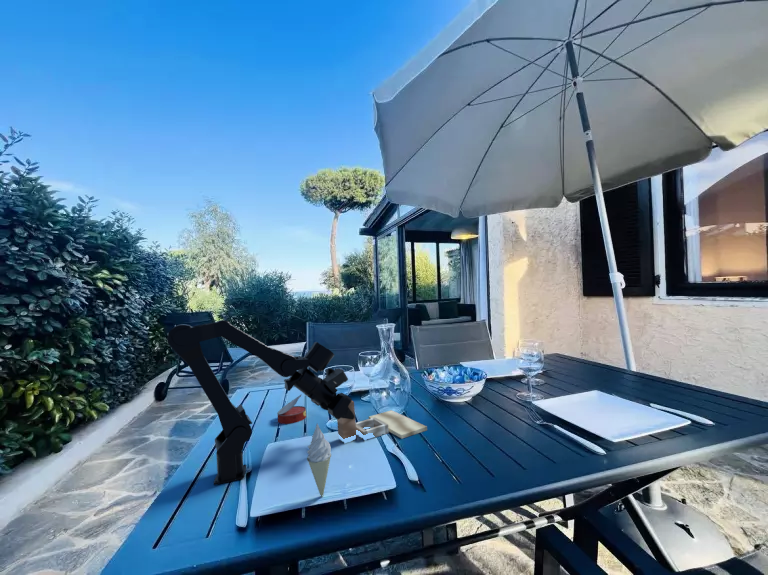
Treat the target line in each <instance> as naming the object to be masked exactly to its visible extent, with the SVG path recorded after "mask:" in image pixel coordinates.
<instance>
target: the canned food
mask: <svg viewBox="0 0 768 575" xmlns="http://www.w3.org/2000/svg"><path fill="white" fill-rule="evenodd" d="M300 398H302V394H300V395H299V396H297V397H296V398H294V399H292V400H291V401H290V402H287V403H286V404H285V405H283V407H282V408H281V409H279V411H278V412H277V413H276V414H277V422H278V423H279V424H281V425H290V424H296V423H299V422H301V421H304V420H305V419H306V418H307V410H306V407H305V406H303V405H302V406H301V405H296V404H297V403H298V401H299V399H300Z"/></svg>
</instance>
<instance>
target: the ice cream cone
mask: <svg viewBox="0 0 768 575" xmlns="http://www.w3.org/2000/svg"><path fill="white" fill-rule="evenodd" d="M307 449H308V450H307V452H306V453H307V455H308V456H307V457H306V460H307V462H308V465H309V467H310V470H311V471H310V472H311V473H312V476H313V480H314V482H315V485H316V487H317V490H318V493H319V496H320V495H321V496H322V495H323V496H324V493H325V489H326V483H327V478H328V472H329V468H330V462H331V457H332V452H331V451H332V450H331V449H332V448H331V444H330V442H329V441H328V440H327V439H325V434H324V433H323V432H322V430H321V428H320V425H319V424H318V423H316V426H315V429H314V432H313V434H312V436H311V442H310V444H309V445H308V446H307ZM321 496H320V497H321Z"/></svg>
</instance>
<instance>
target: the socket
mask: <svg viewBox="0 0 768 575" xmlns="http://www.w3.org/2000/svg"><path fill="white" fill-rule="evenodd" d="M364 427H371V428H370V429H366V430H365V429H363V428H364ZM356 430H358V431H360V432H361V433H362V434H363V435H366V434H368V433H373V435H374V436H375V438H379V437H380V436H383V435H382V434H384V435H387V434H389V433H391V434H393V435H394V436H396V437H398V438H400V439H402V440H403V439H404V438H408V437H412V436H414V435H417V434H420V433H423V432H426V431H428V426H427V425H424V424H422V423H420V422H418V421H417V420H413V419H411V418H410V417H408V416H405V415H404V414H400V413H398V412H397V411H394V410H392V409H391V410H387V411H383V412H380V413H377V414H373V415H370V416H368V419H365V420H361V421H357V422H356Z"/></svg>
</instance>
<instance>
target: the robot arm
mask: <svg viewBox="0 0 768 575" xmlns="http://www.w3.org/2000/svg"><path fill="white" fill-rule="evenodd" d="M216 338H223V339H225V340H227V341H229V342H230V343H232V344H234V345H235V346H237V347H239V348H240V349H242V350H245V351H246V352H248V353H249V354H251V355H253V356H255V357H256V358H258V359H259V360H261V361H262V362H263V363H264V364H265V365H267V367H269V368H270V369H271V370H272V371H273V372H274V373H275V374H277V375H279V376H281V377H283V378H286V379H283V382H284V389H286V390H287V391H288V392H289V391H291V390H292V388H293V387H295V389H298V390H299V391H300V392H301V393H302V394H304V395H305V396H306V397H307V398H309V399H310V401H311V402H312V403H314V405H316V406H320V408H321V409H322V410H324V411H327V412H328V414H330V416H332V417H333V418H335V419H336V420H337V419H340V418H346V419H352V420H353V419H354V417H355V418H356V414H355V415H354V414H353V413H352V411H351V410H350V409H349V407H348V406H349V404H350V403H351V401H353V400H352V398H351V397H350V396H348V395H347V394H346V393H343V392H340V393H337V391H338V387H340V386H341V385H343V384H344V383H346V382H347V381H348V380H349V378H348V376H347V375H346V373H345V370H344V369H343V368H342V369H341V368H334V369H333V368H331V367H329V368H327V369H326V367H327V366H328V365H329V363H330V362H331V361H332V359H333V358H334V357H335V354H334V353H333V351H332V350H330V349H329V348H327V347H325V346H324V345H322V344H321V343H319V342H317V341H315V342H313V344H312V345H311V347H310V348H309V349H308V350H307V352H306V353H305V355H304V356H300V355H298V356H295V355H294V356H293V355H291V354H289V353H287V352H284V351H281V350H278V349H275V348H273V347H271V346H267V345H266V344H265V343H263V342H261V341H259V340H258V339H256V338H255V337H253V336H252V335H250V334H248V333H246V332H245V331H243V330H241V329H239V328H238V327H236V326H234V325H232V324H231V322H229V321H228V320H225V319H221V320H217V321H214V322H209V323H203V324H198V325H193V326H191V325H190V324H183V323H181V324H177V325H175V326H174V327H172V329H170V330H169V331H168V334H167V337H166V341H167V344H168V346H169V347H170V348H172V350H173V351H174V352H175V353H176V354H177V355H178V356H179V357H180V358H181V359H182V361H184V362H185V363H186V364H187V365H188V367H189V368H190V370H191V371H192V373H193V375H194V377H195V379H196V380H197V381H198V384H199V385H200V387H201V388H202V390H203V392H204V394H205V395H206V397H207V399H208V400H209V402H210V404H211V405H212V407H213V408H214V410H215V412H216V414H217V415H218V419H219V422H220V425H221V428H222V430H221V431H220V432H219V433H218V434H217V436H216V437H215V438H214V445H215V448H216V453H215V454H216V472H217V474H216V476H215V478H214V481H213V485H215V486H216V485H219V484H220V485H221V484H225V483H230V482H234V481H238V480H239V481H241V480H243V479H244V478H245V474H246V471H247V467H248V466H247V464H244V454H243V452H244V447H245V444H246V442H247V441H248V440H249V439H250V437H251V435H252V432H253V431H252V427H251V425H252V424H253V422H252V420H251V419H250V416H249V415H248V414H247V413H246V410H245V408H244V406H243V405H242V404H241V403H240V404H239V405H237V406H236V405H234V404H233V403H232V401H231V399H229V396H228V395H227V393H226V392H225V390H224V388H223V387H222V385H221V383H220V381H219V380H218V378H217V376H216V374H215V373H214V371H213V368H212V367H211V365H210V364H209V362H208V360H207V358H206V357H205V355H204V352H203V349H202V346H201V344H200V343H201V342H203V341H204V342H205V341H208V340H209V341H210V340H213V339H216ZM310 369H311V370H310ZM312 370H313V371H312ZM324 370H325V376H324V377H323V378H321V377H319V376H318V375H316V374H315V373H318V372H324ZM314 372H315V373H314Z"/></svg>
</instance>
